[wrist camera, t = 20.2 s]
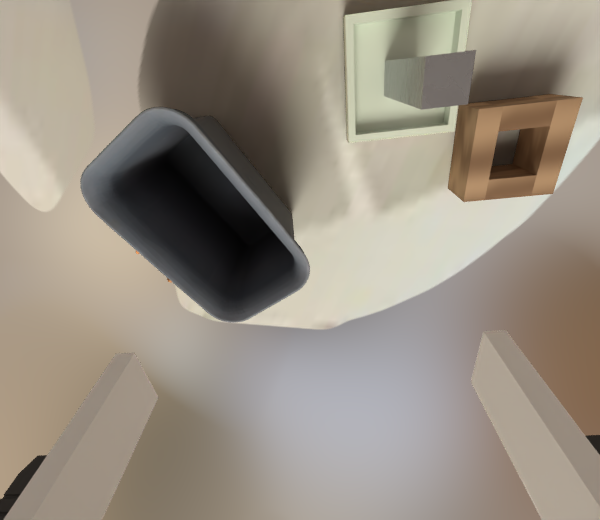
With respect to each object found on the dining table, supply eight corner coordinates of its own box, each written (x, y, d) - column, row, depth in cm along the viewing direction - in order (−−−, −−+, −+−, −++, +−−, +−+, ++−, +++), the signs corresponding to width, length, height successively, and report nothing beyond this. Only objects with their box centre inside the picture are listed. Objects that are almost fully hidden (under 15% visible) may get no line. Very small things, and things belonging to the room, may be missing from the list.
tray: (343, 18, 33) (345, 15, 31) (462, 1, 32) (472, -3, 30) (346, 139, 39) (348, 143, 37) (447, 128, 38) (454, 131, 36)
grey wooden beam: (383, 96, 36) (421, 109, 24) (384, 60, 34) (425, 56, 22) (414, 92, 36) (468, 104, 24) (417, 56, 34) (476, 50, 22)
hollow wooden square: (459, 104, 37) (478, 109, 32) (550, 94, 36) (582, 97, 32) (447, 188, 42) (463, 201, 38) (527, 180, 41) (552, 193, 37)
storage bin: (319, 220, 45) (324, 277, 32) (238, 273, 50) (215, 340, 37) (213, 81, 36) (164, 87, 24) (128, 162, 41) (51, 202, 29)
